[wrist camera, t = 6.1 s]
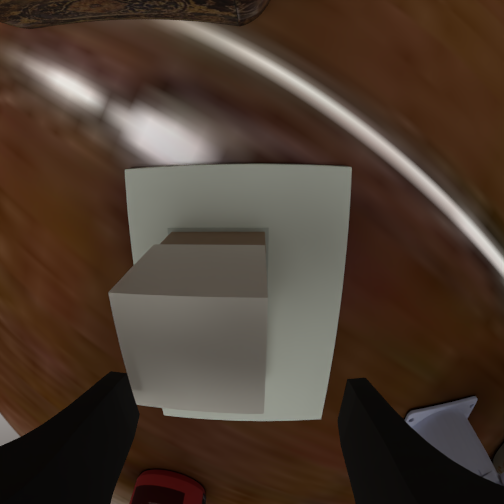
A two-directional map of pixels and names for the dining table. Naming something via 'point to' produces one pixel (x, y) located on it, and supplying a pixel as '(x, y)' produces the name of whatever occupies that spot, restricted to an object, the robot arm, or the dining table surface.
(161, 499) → the canned food
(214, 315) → the cream cube
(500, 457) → the vase
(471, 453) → the robot arm
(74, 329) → the dining table surface
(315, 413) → the pale green flat block
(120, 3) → the book
